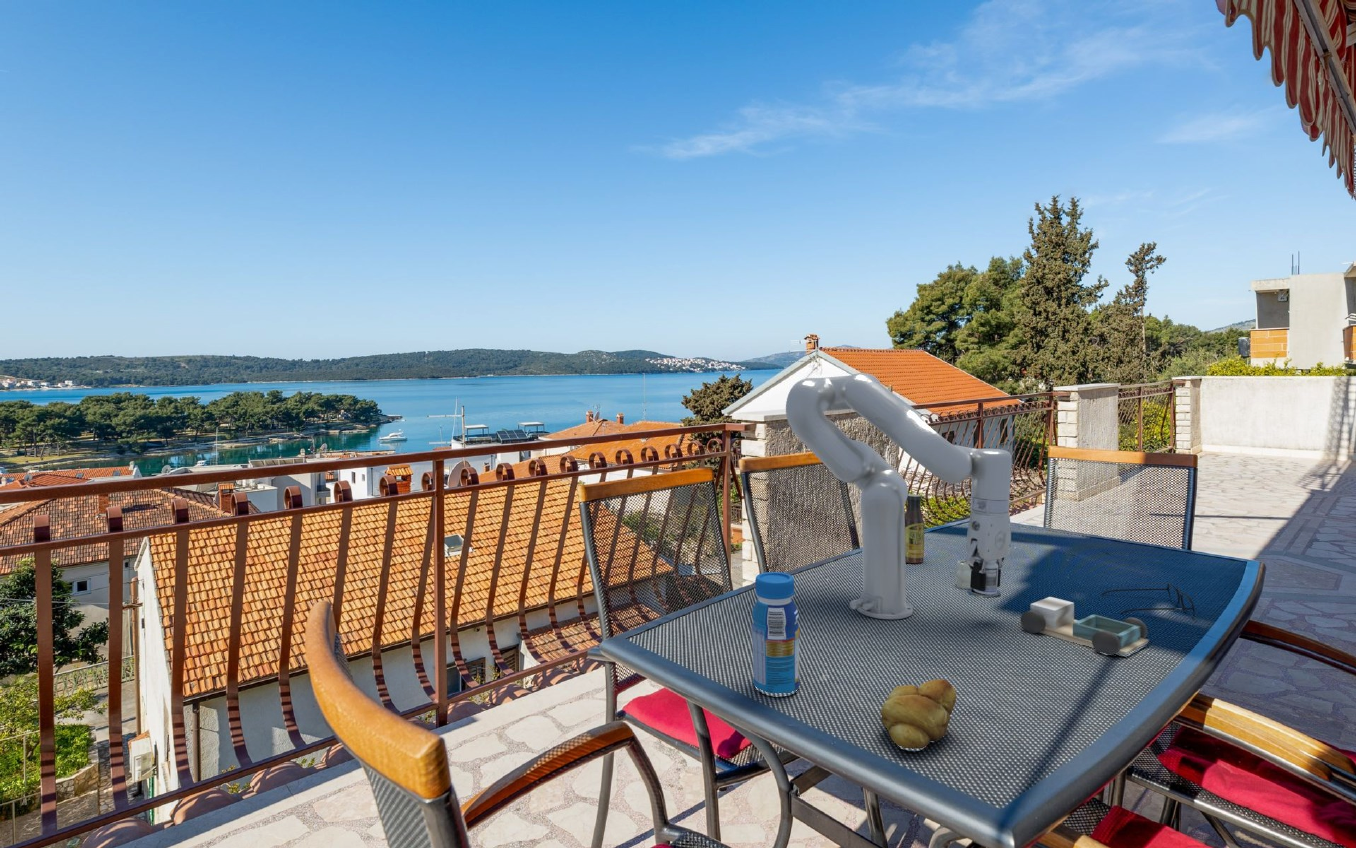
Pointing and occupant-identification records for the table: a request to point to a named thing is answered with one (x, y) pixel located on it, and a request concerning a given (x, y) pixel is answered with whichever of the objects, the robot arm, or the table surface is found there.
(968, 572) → the valve
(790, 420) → the robot arm
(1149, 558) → the table surface
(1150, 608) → the glasses
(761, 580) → the beverage bottle
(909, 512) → the sauce bottle
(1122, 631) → the toy car chassis
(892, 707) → the bread roll
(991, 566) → the pill bottle
